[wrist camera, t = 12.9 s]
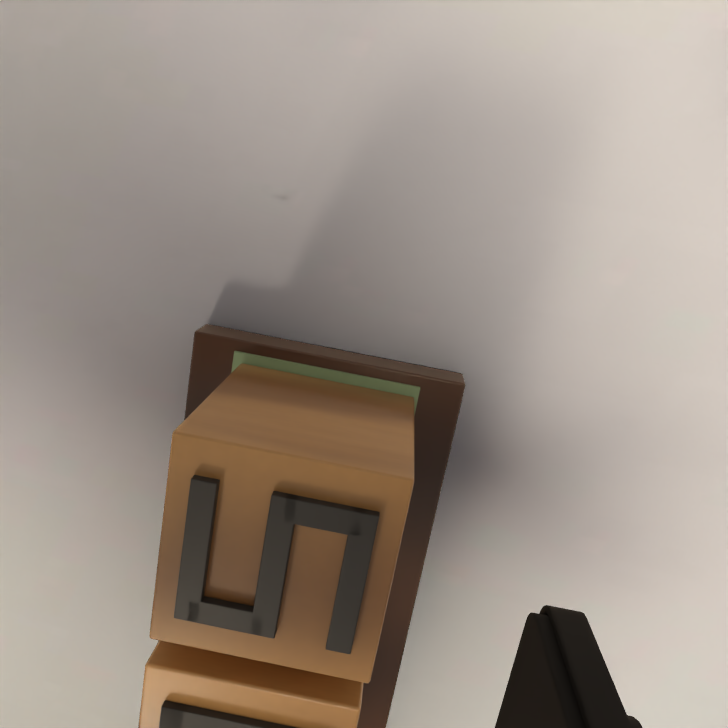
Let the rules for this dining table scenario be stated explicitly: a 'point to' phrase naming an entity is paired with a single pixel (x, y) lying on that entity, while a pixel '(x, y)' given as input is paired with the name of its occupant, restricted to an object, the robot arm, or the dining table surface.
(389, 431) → the letter block S
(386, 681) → the word rack
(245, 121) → the dining table surface
